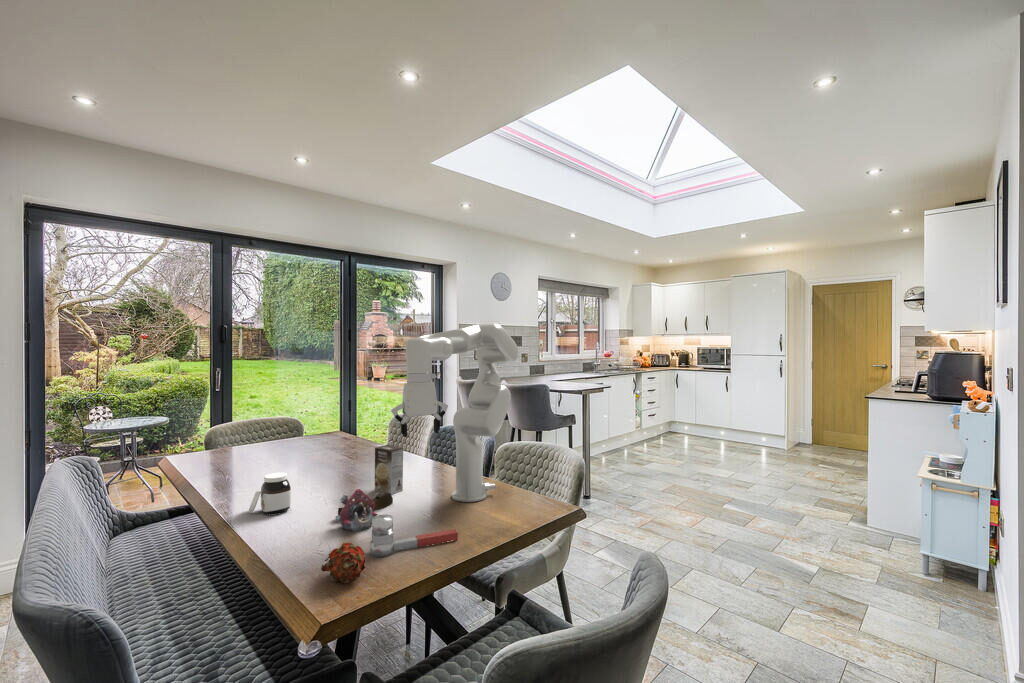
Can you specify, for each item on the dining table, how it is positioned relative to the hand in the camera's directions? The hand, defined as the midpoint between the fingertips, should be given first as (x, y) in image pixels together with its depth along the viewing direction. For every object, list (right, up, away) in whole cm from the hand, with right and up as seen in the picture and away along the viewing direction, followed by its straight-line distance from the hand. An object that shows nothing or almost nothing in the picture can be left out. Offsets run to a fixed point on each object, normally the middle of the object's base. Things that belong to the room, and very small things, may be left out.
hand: (420, 434), depth 138 cm
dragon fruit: (-11, -26, -34) cm, 44 cm away
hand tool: (-19, -27, +8) cm, 34 cm away
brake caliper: (-18, -27, -4) cm, 33 cm away
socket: (-6, -24, -21) cm, 32 cm away
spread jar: (-51, -27, +8) cm, 58 cm away
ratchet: (+2, -26, -17) cm, 32 cm away
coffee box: (-18, -27, +30) cm, 44 cm away
